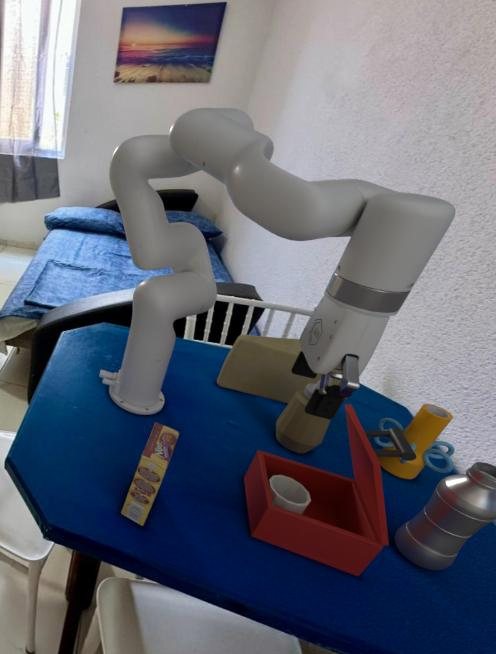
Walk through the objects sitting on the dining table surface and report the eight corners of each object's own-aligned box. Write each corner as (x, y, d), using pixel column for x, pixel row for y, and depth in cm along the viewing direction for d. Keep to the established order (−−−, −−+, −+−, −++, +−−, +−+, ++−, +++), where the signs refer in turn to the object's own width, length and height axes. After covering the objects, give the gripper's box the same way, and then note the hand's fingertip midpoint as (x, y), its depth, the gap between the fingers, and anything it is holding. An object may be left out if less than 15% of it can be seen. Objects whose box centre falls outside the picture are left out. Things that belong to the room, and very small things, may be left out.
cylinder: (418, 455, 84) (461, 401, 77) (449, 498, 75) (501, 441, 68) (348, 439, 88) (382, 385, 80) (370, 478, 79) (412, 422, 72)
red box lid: (372, 463, 55) (428, 464, 52) (344, 404, 65) (390, 403, 62) (381, 545, 59) (434, 550, 56) (354, 478, 69) (397, 480, 66)
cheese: (220, 396, 98) (241, 346, 91) (212, 372, 107) (230, 324, 100) (325, 416, 94) (355, 364, 86) (307, 389, 102) (334, 339, 95)
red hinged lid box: (251, 536, 68) (268, 506, 64) (243, 478, 78) (258, 449, 74) (358, 576, 63) (383, 547, 59) (335, 508, 73) (356, 480, 69)
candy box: (145, 528, 69) (167, 467, 61) (120, 514, 71) (138, 454, 63) (158, 491, 75) (180, 431, 68) (135, 479, 77) (153, 420, 70)
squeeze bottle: (323, 461, 82) (365, 393, 74) (279, 454, 83) (316, 386, 75) (303, 432, 89) (340, 366, 80) (263, 425, 90) (295, 360, 82)
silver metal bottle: (378, 536, 69) (445, 454, 59) (414, 534, 69) (487, 452, 60) (416, 577, 63) (498, 494, 53) (455, 574, 64) (543, 491, 54)
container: (259, 519, 70) (272, 496, 67) (255, 492, 75) (267, 470, 72) (299, 533, 68) (314, 511, 65) (292, 504, 72) (306, 482, 70)
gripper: (313, 263, 60) (271, 356, 69) (349, 315, 47) (291, 424, 55) (376, 273, 58) (324, 368, 66) (434, 332, 44) (359, 443, 52)
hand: (309, 393), depth 60 cm, fingers open, 9 cm apart
